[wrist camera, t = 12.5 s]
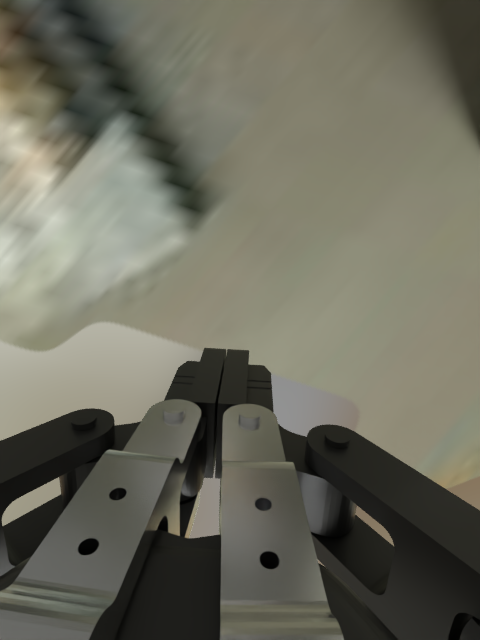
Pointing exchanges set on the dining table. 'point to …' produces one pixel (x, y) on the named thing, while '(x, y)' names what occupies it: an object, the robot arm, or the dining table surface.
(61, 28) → the dining table surface
